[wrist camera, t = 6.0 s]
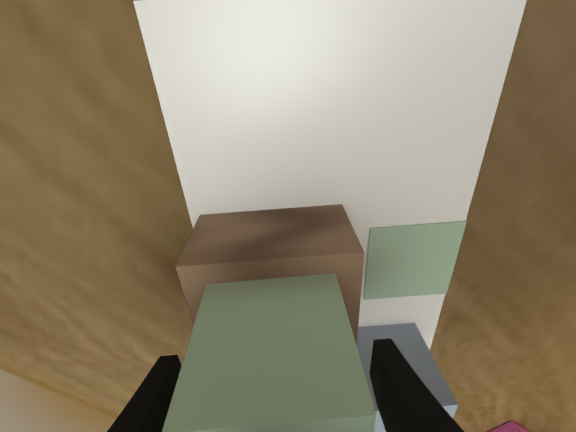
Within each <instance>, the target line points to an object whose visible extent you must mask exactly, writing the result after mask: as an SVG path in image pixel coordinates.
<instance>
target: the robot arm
mask: <svg viewBox="0 0 576 432" xmlns="http://www.w3.org/2000/svg"><path fill="white" fill-rule="evenodd" d="M180 370H181V363H180V361H179V358H178V355H171V356H161V357H160V358H159V359H158V360H157V361H156V363H155V364H154V366H153V367H152V369H151V370H150V372H149V373H148V375H147V376H146V378H145V379H144V381H143V382H142V384H141V385H140V387H139V388H138V389H137V391H136V392H135V394H134V395H133V397H132V398H131V400H130V401H129V402H128V404H127V405H126V406H125V408H124V409H123V411H122V412H121V413H120V415H119V416H118V418H117V419H116V420H115V422H114V423H113V424H112V426H111V427H110V429H109V430H108V431H107V432H162V430H163V426H164V423H165V420H166V416H167V413H168V410H169V406H170V403H171V400H172V396H173V393H174V390H175V386H176V383H177V380H178V376H179V373H180ZM369 374H370V379H371V383H372V387H373V391H374V395H375V399H376V403H377V407H378V410H379V413H380V416H381V419H382V422H383V425H384V427H385V430H386V432H464V431H463V430H462V429H461V427H460V426H459V425H458V424H457V423H456V422H455V421H454V419H453V418H452V417H451V416H450V415H449V414H448V412H447V411H446V410H445V409H444V408H443V406H442V405H441V404H440V403H439V402H438V400H437V399H436V398H435V397H434V395H433V394H432V393H431V392H430V390H429V389H428V388H427V387H426V385H425V384H424V383H423V381H422V380H421V379H420V378H419V376H418V375H417V374H416V372H415V371H414V370H413V368H412V367H411V366H410V364H409V363H408V361H407V360H406V359H405V357H404V356H403V354H402V353H401V352H400V350H399V349H398V347H397V346H396V344H395V343H394V341H393V340H392V339H390V338H388V339H375V340H374V341H373V349H372V356H371V364H370V372H369Z"/></svg>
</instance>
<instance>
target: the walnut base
mask: <svg viewBox="0 0 576 432" xmlns="http://www.w3.org/2000/svg"><path fill="white" fill-rule="evenodd" d="M363 263H364V250H363V248H362V246H361V244H360V242H359V240H358V238H357V235H356V233H355V231H354V229H353V227H352V225H351V222H350V220H349V218H348V216H347V214H346V212H345V210H344V207H343V205H342V204H337V205H323V206H310V207H297V208H283V209H270V210H257V211H243V212H230V213H216V214H203V215H199V218H198V220H197V222H196V224H195V226H194V228H193V230H192V232H191V234H190V237H189V239H188V241H187V243H186V245H185V247H184V249H183V251H182V253H181V256H180V258H179V260H178V262H177V264H176V266H175V268H176V271H177V274H178V277H179V280H180V283H181V286H182V290H183V293H184V296H185V299H186V302H187V305H188V308H189V311H190V314H191V318H192V321H193V324H194V323H195V320H196V316H197V313H198V310H199V306H200V303H201V300H202V296H203V293H204V290H205V286H206V284H216V283H227V282H239V281H250V280H262V279H273V278H285V277H296V276H308V275H320V274H331V273H336V276H337V279H338V283H339V286H340V290H341V293H342V297H343V300H344V304H345V307H346V311H347V314H348V318H349V321H350V325H351V328H352V332H353V335H354V339H355V342H356V346H357V335H358V323H359V311H360V299H361V287H362V275H363Z"/></svg>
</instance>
